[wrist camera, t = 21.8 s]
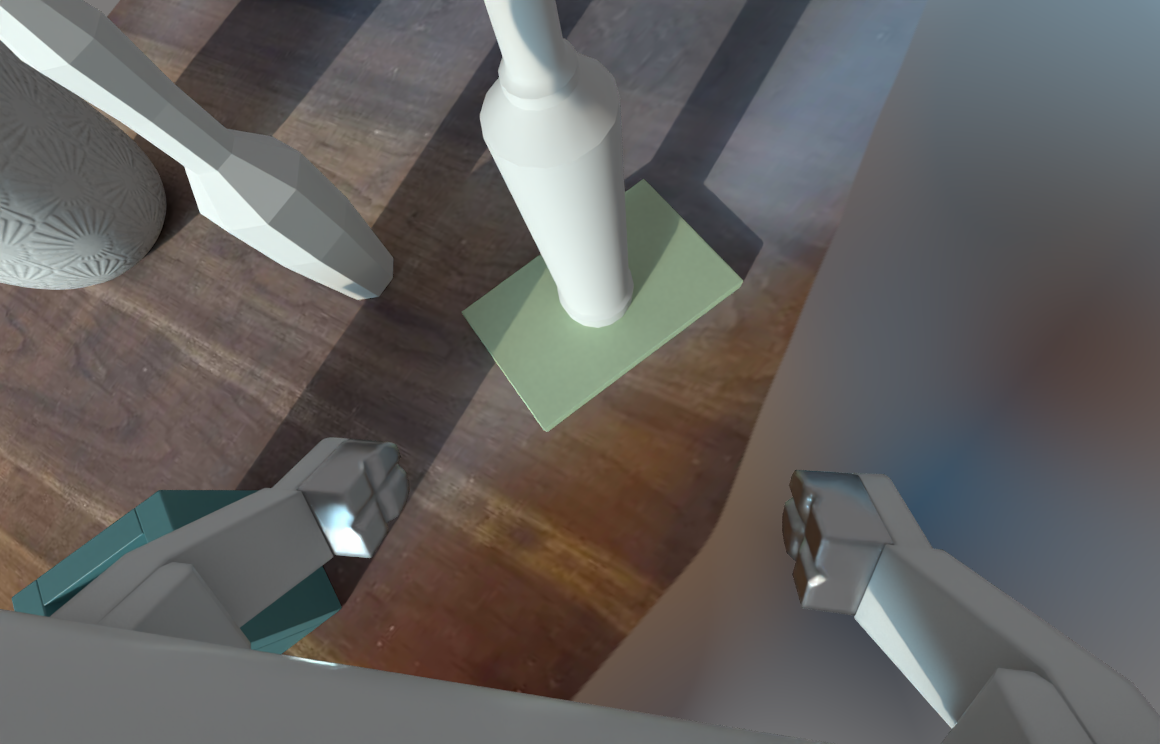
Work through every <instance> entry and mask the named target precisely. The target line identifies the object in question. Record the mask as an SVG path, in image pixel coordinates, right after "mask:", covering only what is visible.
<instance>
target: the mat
mask: <svg viewBox="0 0 1160 744" xmlns="http://www.w3.org/2000/svg"><path fill="white" fill-rule="evenodd" d="M625 207H626V227H627V248H628V268H629V269H630V271H631V275H632V279H633V283H634V289H633V295H632V300H631V305H630V306H629V308H628V309H627V311H626V312H625V314H624V315H623V317H622V318H620V319H619V320H617V321H616V322H614V323H613V324H611V325H608V326H604V327H600V328H595V327H588V326H584V325H582V324H580V323H579V322H577V321H575V320H573V319H572V318H571V317H570V316H569V314H568V313H567V312H566V310H565V309H564V308H563V306H562V304H561V303H560V299H559V294H558V289H557V285H556V283H555V281H554V279H553V277H552V275H551V273H550V271H549V269H548V267H547V265H546V263H545V261H544V259H543V257H542V255H541V254H540V255H539V256H537V257H536V258H535V259H533V260H532V261H530V262H529V263H528V264H526V265H525V266H524V267H522V268H521V269H519V270H518V271H517V272H515V273H514V274H513V275H511V276H510V277H509V278H507V279H506V280H504V281H503V282H502V283H500V284H499V285H498V286H496V287H495V288H494V289H492V290H491V291H489V292H488V293H487V294H485V295H484V296H483V297H481V298H480V299H479V300H477V301H476V302H474V303H473V304H472V305H470V306H469V307H468V308H466V309H465V310H463V311H462V314H463V316H464V317H465V318H466V320H467V321H468V323H469V324H470V326H471V327H472V328H473V330H474V331H475V333H476V334H477V335H478V337H479V338H480V340H481V341H482V343H483V344H484V345H485V347H486V348H487V350H488V351H489V353H490V354H491V355H492V357H493V358H494V360H495V361H496V363H497V364H498V365H499V367H500V368H501V370H502V371H503V373H504V374H505V375H506V377H507V378H508V380H509V381H510V383H511V384H512V385H513V387H514V388H515V390H516V391H517V393H518V394H519V395H520V397H521V398H522V400H523V401H524V403H525V404H526V405H527V407H528V408H529V410H530V411H531V413H532V414H533V415H534V417H535V418H536V420H537V421H538V423H539V424H540V425H541V427H542V428H543V430H545V431H547V432H548V431H549V430H551V429H552V428H553V427H555V426H556V425H557V424H559V423H560V422H561V421H563V420H564V419H565V418H567V417H568V416H569V415H571V414H572V413H573V412H575V411H576V410H577V409H579V408H580V407H581V406H583V405H584V404H585V403H586V402H588V401H589V400H590V399H592V398H593V397H594V396H596V395H597V394H598V393H600V392H601V391H602V390H604V389H605V388H606V387H608V386H609V385H610V384H612V383H613V382H614V381H616V380H617V379H618V378H620V377H621V376H622V375H624V374H625V373H626V372H628V371H629V370H630V369H632V368H633V367H634V366H636V365H637V364H638V363H640V362H641V361H642V360H644V359H645V358H646V357H648V356H649V355H650V354H652V353H653V352H654V351H656V350H657V349H658V348H660V347H661V346H662V345H664V344H665V343H666V342H668V341H669V340H670V339H672V338H673V337H674V336H676V335H677V334H678V333H680V332H681V331H682V330H684V329H685V328H686V327H688V326H689V325H690V324H692V323H693V322H694V321H696V320H697V319H698V318H700V317H701V316H702V315H704V314H705V313H706V312H708V311H709V310H710V309H712V308H713V307H714V306H716V305H717V304H718V303H720V302H721V301H722V300H724V299H725V298H726V297H728V296H729V295H730V294H732V293H733V292H734V291H736V290H737V289H738V288H740V287H741V285H742V282H743V280H742V279H741V278H740V277H739V275H738V274H737V273H736V272H735V271H734V270H733V269H732V268H731V267H730V266H729V265H728V264H727V263H726V262H725V261H724V260H723V259H722V258H721V257H720V256H719V255H718V254H717V253H716V252H715V251H714V250H713V249H712V248H711V247H710V246H709V245H708V244H707V243H706V242H705V241H704V240H703V239H702V238H701V237H700V236H699V235H698V234H697V233H696V232H695V231H694V230H693V228H692V227H691V226H690V225H689V224H688V223H687V222H686V221H685V220H684V219H683V218H682V217H681V216H680V215H679V214H678V213H677V212H676V211H675V210H674V209H673V208H672V207H671V206H670V205H669V204H668V203H667V202H666V201H665V200H664V199H663V198H662V197H661V196H660V195H659V194H658V193H657V192H656V191H655V190H654V189H653V188H652V187H651V186H650V185H649V184H648V183H647V181H646V180H645V179H642V180H641V181H640V182H638V183H637V184H636V185H634V186H633V187H631V188H630V189H629V190H627V191H626V192H625Z"/></svg>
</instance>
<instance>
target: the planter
mask: <svg viewBox="0 0 1160 744" xmlns="http://www.w3.org/2000/svg"><path fill="white" fill-rule="evenodd" d="M165 215H166V195H165V191H164V187H163V184H162V181H161V178H160V176H159V174H158V171H157V170H156V168H155V167H154V165H153V164H152V162H151V161H150V159H149V158H148V157H147V155H146V154H145V153H144V152H143V151H142V150H141V148H140V147H139V146H138V145H137V144H136V143H135V142H134V141H133V140H132V139H131V138H130V137H129V136H128V135H127V134H126V133H125V132H124V131H123V130H121V129H120V128H119V127H118V126H116V125H115V124H114V123H113V122H111V121H110V120H109V119H108V118H106V117H105V116H104V115H102V114H101V113H100V112H99V111H97V110H96V109H95V108H93V107H92V106H91V105H89V104H88V103H87V102H86V101H84V100H83V99H82V98H80V97H79V96H78V95H76V94H75V93H73V92H72V91H70V90H68V89H67V88H65V87H63V86H62V85H60V84H58V83H57V82H55V81H54V80H52V79H50V78H49V77H47V76H45V75H44V74H42V73H40V72H39V71H37V70H36V69H34V68H33V67H31V66H29V65H28V64H26V63H25V62H23V61H22V60H20V59H19V58H18V57H17V56H16V55H15V54H14V53H13V52H12V51H11V50H10V49H9V48H8V47H7V46H6V45H5V44H4V43H3V42H2V41H1V40H0V282H1V283H5V284H11V285H16V286H22V287H29V288H38V289H55V290H60V289H76V288H82V287H88V286H92V285H96V284H99V283H103V282H106V281H109V280H111V279H113V278H116V277H118V276H119V275H121V274H123V273H124V272H126V271H127V270H129V269H130V268H132V267H133V266H134V265H135V264H137V263H138V262H139V261H140V260H141V259H142V258H143V257H144V256H145V255H146V254H147V253H148V252H149V250H150V249H151V248H152V246H153V245H154V244H155V242H156V240H157V238H158V236H159V234H160V232H161V230H162V227H163V223H164V219H165Z"/></svg>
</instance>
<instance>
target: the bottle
mask: <svg viewBox="0 0 1160 744" xmlns="http://www.w3.org/2000/svg"><path fill="white" fill-rule="evenodd" d="M484 2H485V5H486V8H487V11H488V14H489V17H490V20H491V23H492V26H493V29H494V32H495V35H496V38H497V41H498V44H499V47H500V50H501V53H502V56H503V58H502V59H501V63H500V66H499V70H498V74H499V78H498V79H497V80H496V82H495V83H494V84H493V85H492V87H491V88H490V89H489V91H488V92H487V93H486V96H485V99H484V103H483V106H482V110H481V113H480V121H481V127H482V133H483V138H484V140H485V142H486V144H487V146H488V148H489V150H490V152H491V154H492V156H493V158H494V160H495V162H496V164H497V166H498V168H499V170H500V172H501V174H502V176H503V178H504V180H505V182H506V184H507V186H508V188H509V190H510V192H511V194H512V196H513V198H514V200H515V202H516V204H517V206H518V208H519V210H520V212H521V214H522V217H523V219H524V221H525V223H526V225H527V227H528V229H529V231H530V233H531V235H532V237H533V239H534V241H535V243H536V245H537V247H538V249H539V251H540V253H541V255H542V257H543V259H544V261H545V263H546V265H547V267H548V269H549V271H550V273H551V275H552V277H553V279H554V281H555V283H556V285H557V289H558V294H559V299H560V303H561V304H562V306H563V308H564V309H565V310H566V312H567V313H568V314H569V316H570V317H571V318H572V319H573V320H575V321H577V322H579V323H580V324H582V325H584V326H588V327H595V328H600V327H604V326H608V325H611V324H613V323H614V322H616V321H617V320H619V319H620V318H622V317H623V315H624V314H625V312H626V311H627V309H628V308H629V306H630V305H631V300H632V295H633V289H634V283H633V279H632V275H631V271H630V269H629V268H628V248H627V227H626V207H625V187H624V166H623V146H622V125H621V105H620V96H619V93H618V89H617V85H616V82H615V78H614V76H613V75H612V74H611V73H610V72H609V71H608V70H607V69H606V68H605V67H604V66H603V65H602V64H601V63H600V62H599V61H598V60H595V59H593V58H590V57H588V56H585V55H583V54H580V53H578V52H576V51H575V48H574V47H573V46H572V45H571V44H570V43H569V42H568V41H567V40H566V39H564V38H563V37H562V32H561V27H560V22H559V17H558V11H557V6H556V1H555V0H484Z"/></svg>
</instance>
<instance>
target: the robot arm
mask: <svg viewBox="0 0 1160 744" xmlns="http://www.w3.org/2000/svg"><path fill="white" fill-rule="evenodd" d="M400 458H401V455H400V452H399V450H398V447H397V445H396V444H393V443H391V442H383V441H372V440H361V439H351V438H350V439H346V438H335V437H329V438H326V439H323V440H321V441H320V442H319V443H318V444H317V445H316V446H315V447H314V448H313V449H312V450H311V451H310V452H309V453H308V454H307V455H306V456H305V457H304V458H303V459H301V460H300V461H299V462H298V463H297V464H296V465H295V466H294V467H293V468H292V469H291V470H290V471H289V472H288V473H287V474H286V475H285V476H284V477H283V478H282V479H281V480H280V481H279V482H278V483H277V484H275V485H274V486H273V487H272V488H263V489H261V490H259V491H257V492H255V493H253V494H251V495H249V496H246V497H244V498H242V499H240V500H238V501H236V502H234V503H232V504H230V505H227V506H225V507H223V508H221V509H219V510H217V511H215V512H213V513H211V514H208V515H206V516H204V517H202V518H200V519H198V520H196V521H194V522H191V523H189V524H187V525H185V526H183V527H181V528H179V529H177V530H175V531H172V532H170V533H168V534H166V535H164V536H162V537H160V538H158V539H155V540H153V541H151V542H149V543H147V544H145V545H143V546H141V547H139V548H136V549H134V550H132V551H130V552H128V553H126V554H125V555H123V556H122V557H121V558H120V559H119V560H117V561H116V562H115V563H114V564H113V565H111V566H110V567H109V568H108V569H107V570H105V571H104V572H103V573H102V574H100V575H99V576H98V577H97V578H96V579H94V580H93V581H92V582H91V583H90V584H88V585H87V586H86V587H85V588H84V589H82V590H81V591H80V592H79V593H78V594H76V595H75V596H74V597H73V598H71V599H70V600H69V601H68V602H67V603H65V604H64V605H63V606H62V607H61V608H59V609H58V610H57V611H56V612H55V613H53V614H52V615H51V616H50V617H46V616H40V615H34V614H28V613H22V612H15V611H9V610H3V609H0V744H832V743H826V742H820V741H814V740H808V739H802V738H795V737H789V736H783V735H777V734H771V733H765V732H758V731H752V730H746V729H740V728H734V727H727V726H721V725H714V724H709V723H703V722H697V721H691V720H684V719H678V718H672V717H666V716H660V715H653V714H647V713H641V712H635V711H629V710H622V709H616V708H610V707H604V706H598V705H592V704H586V703H580V702H573V701H567V700H561V699H555V698H549V697H543V696H536V695H530V694H524V693H518V692H512V691H505V690H499V689H493V688H487V687H480V686H474V685H468V684H462V683H456V682H449V681H443V680H437V679H431V678H424V677H418V676H412V675H406V674H400V673H393V672H387V671H381V670H375V669H369V668H362V667H356V666H350V665H344V664H337V663H331V662H325V661H319V660H313V659H306V658H300V657H294V656H288V655H282V654H275V653H269V652H263V651H257V650H251V643H250V641H249V640H248V639H247V637H246V636H245V635H244V633H243V632H242V631H241V629H240V627H241V626H243V625H244V624H245V623H247V622H248V621H249V620H251V619H252V618H253V617H255V616H256V615H257V614H259V613H260V612H261V611H263V610H264V609H265V608H267V607H268V606H269V605H271V604H272V603H273V602H274V601H276V600H277V599H278V598H280V597H281V596H282V595H284V594H285V593H286V592H288V591H289V590H290V589H292V588H293V587H294V586H296V585H297V584H298V583H300V582H301V581H302V580H304V579H305V578H306V577H308V576H309V575H310V574H312V573H313V572H314V571H316V570H317V569H318V568H320V567H321V566H322V565H324V564H325V563H326V562H328V561H329V560H330V559H332V558H333V555H342V556H354V557H365V558H371V557H372V556H373V554H374V553H375V551H376V550H377V548H378V547H379V545H380V544H381V542H382V541H383V539H384V537H385V536H386V534H387V533H388V526H387V522H389V521H391V520H392V519H394V518H395V517H397V516H399V514H400V513H401V511H402V510H403V508H404V506H405V505H406V502H407V498H408V494H409V480H408V476H407V473H406V472H405V471H404V470H403V469H402V468H401V467H400V466H399V465H398V462H399V460H400ZM789 486H790V489H791V492H792V496H793V497H792V498H791V499H789V500H788V501H787V502H786V503H785V506H784V512H783V517H782V531H783V539H784V544H785V547H786V552H787V554H789V555H790V556H791V557H792V558H793V559H794V560H795V561H796V563H795V567H794V570H793V578H794V581H795V585H796V589H797V592H798V596H799V600H800V603H801V607H802V608H805V609H812V610H819V611H826V612H833V613H841V614H847V615H855V619H856V620H857V622H858V623H859V624H860V625H861V626H862V627H863V628H864V630H865V631H866V632H867V633H868V634H869V635H870V636H871V637H872V639H873V640H874V641H875V642H876V643H877V644H878V645H879V647H880V648H881V649H882V650H883V651H884V652H885V653H886V655H887V656H888V657H889V658H890V659H891V660H892V661H893V662H894V664H895V665H896V666H897V667H898V668H899V669H900V670H901V671H902V673H903V674H904V675H905V676H906V677H907V678H908V679H909V681H910V682H911V683H912V684H913V685H914V686H915V687H916V689H917V690H918V691H919V692H920V693H921V694H922V695H923V697H924V698H925V699H926V700H927V701H928V702H929V703H930V704H931V706H932V707H933V708H934V709H935V710H936V711H937V712H938V714H939V715H940V716H941V717H942V718H943V719H944V720H945V722H946V723H947V724H948V725H949V726H950V727H951V728H952V730H951V731H950V732H949V734H948V735H947V736H946V737H945V739H944V740H943V742H942V743H941V744H1160V716H1159V714H1158V713H1157V712H1156V711H1155V709H1154V708H1153V707H1152V706H1151V704H1150V703H1149V702H1148V701H1147V700H1146V698H1145V697H1144V696H1143V694H1142V693H1141V692H1140V691H1139V689H1138V688H1137V687H1136V686H1135V684H1134V683H1133V682H1131V681H1130V680H1128V679H1127V678H1126V677H1124V676H1123V675H1121V674H1120V673H1118V672H1117V671H1116V670H1114V669H1112V668H1111V667H1110V666H1109V665H1107V664H1106V663H1104V662H1103V661H1101V660H1100V659H1099V658H1097V657H1096V656H1094V655H1093V654H1091V653H1090V652H1088V651H1087V650H1086V649H1084V648H1083V647H1081V646H1080V645H1078V644H1077V643H1076V642H1074V641H1073V640H1071V639H1070V638H1069V637H1067V636H1066V635H1064V634H1063V633H1061V632H1060V631H1058V630H1057V629H1056V628H1054V627H1053V626H1051V625H1050V624H1048V623H1047V622H1046V621H1044V620H1043V619H1041V618H1040V617H1039V616H1037V615H1036V614H1034V613H1033V612H1031V611H1030V610H1029V609H1027V608H1026V607H1024V606H1023V605H1021V604H1020V603H1018V602H1017V601H1016V600H1014V599H1013V598H1011V597H1010V596H1008V595H1007V594H1006V593H1004V592H1003V591H1001V590H1000V589H999V588H997V587H995V586H994V585H993V584H991V583H990V582H988V581H987V580H986V579H984V578H983V577H981V576H980V575H979V574H977V573H976V572H974V571H973V570H971V569H970V568H968V567H967V566H966V565H964V564H963V563H961V562H960V561H958V560H957V559H956V558H954V557H953V556H951V555H950V554H949V553H947V552H946V551H944V550H941V549H933V548H932V546H931V545H930V543H929V541H928V540H927V538H926V536H925V535H924V533H923V532H922V530H921V528H920V527H919V525H918V524H917V522H916V520H915V519H914V517H913V515H912V514H911V512H910V511H909V509H908V507H907V506H906V504H905V502H904V500H903V499H902V497H901V496H900V494H899V492H898V491H897V490H896V488H895V486H894V485H893V483H892V481H891V479H890V478H889V477H887V476H885V475H884V474H865V473H853V474H852V473H839V472H821V471H806V470H795V471H794V473H793V474H792V477H791V481H790V485H789Z"/></svg>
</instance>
